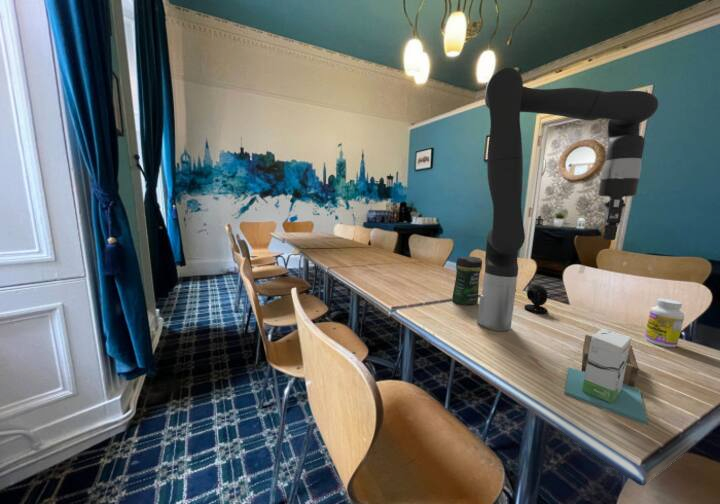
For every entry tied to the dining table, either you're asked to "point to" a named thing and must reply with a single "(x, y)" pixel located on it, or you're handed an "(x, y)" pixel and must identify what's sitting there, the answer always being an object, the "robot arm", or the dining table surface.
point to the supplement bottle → (665, 323)
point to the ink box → (606, 364)
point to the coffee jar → (467, 280)
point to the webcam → (537, 299)
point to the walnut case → (630, 366)
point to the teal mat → (623, 404)
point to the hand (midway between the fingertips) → (608, 238)
